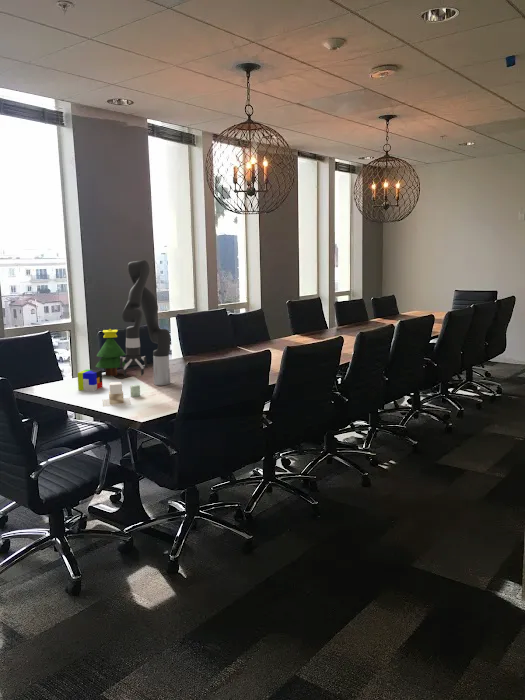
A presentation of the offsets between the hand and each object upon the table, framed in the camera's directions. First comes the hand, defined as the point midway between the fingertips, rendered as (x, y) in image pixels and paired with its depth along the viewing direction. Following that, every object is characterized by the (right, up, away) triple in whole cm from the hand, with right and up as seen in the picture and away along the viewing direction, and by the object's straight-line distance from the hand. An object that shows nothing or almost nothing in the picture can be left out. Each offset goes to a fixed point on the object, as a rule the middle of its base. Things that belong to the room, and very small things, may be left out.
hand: (133, 375), depth 321 cm
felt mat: (-7, -14, -11) cm, 19 cm away
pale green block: (+1, -12, +2) cm, 12 cm away
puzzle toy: (-30, -9, +22) cm, 38 cm away
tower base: (-7, -13, -11) cm, 18 cm away
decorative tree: (-27, -2, +58) cm, 64 cm away
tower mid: (-7, -8, -12) cm, 16 cm away
